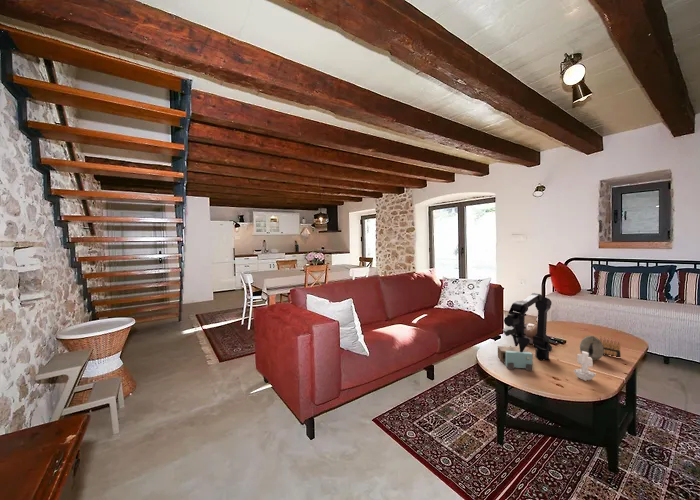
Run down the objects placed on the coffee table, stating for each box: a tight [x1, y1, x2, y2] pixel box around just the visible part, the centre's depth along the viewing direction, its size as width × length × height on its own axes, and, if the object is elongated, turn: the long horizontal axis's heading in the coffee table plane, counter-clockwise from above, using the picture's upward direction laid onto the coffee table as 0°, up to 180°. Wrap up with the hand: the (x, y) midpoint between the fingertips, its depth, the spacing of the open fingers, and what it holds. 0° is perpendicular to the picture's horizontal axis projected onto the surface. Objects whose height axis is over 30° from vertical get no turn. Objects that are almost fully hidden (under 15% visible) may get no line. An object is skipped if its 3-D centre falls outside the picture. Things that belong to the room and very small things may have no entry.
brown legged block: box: [497, 345, 534, 372], centre depth 181 cm, size 16×18×7 cm
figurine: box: [572, 351, 597, 382], centre depth 161 cm, size 7×9×15 cm
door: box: [505, 351, 534, 369], centre depth 175 cm, size 14×4×9 cm, turn 76°
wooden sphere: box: [523, 322, 537, 345], centre depth 213 cm, size 15×15×15 cm
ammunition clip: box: [599, 336, 621, 357], centre depth 189 cm, size 11×2×12 cm, turn 41°
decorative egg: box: [579, 335, 604, 361], centre depth 184 cm, size 12×12×15 cm
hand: (518, 349), depth 175 cm, fingers open, 9 cm apart
